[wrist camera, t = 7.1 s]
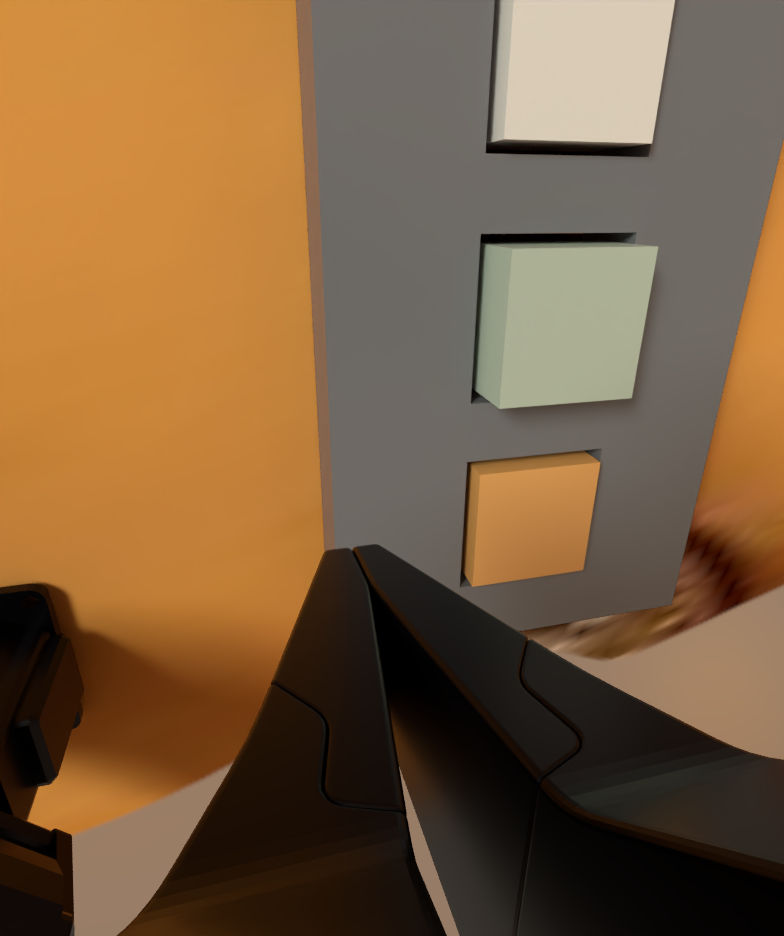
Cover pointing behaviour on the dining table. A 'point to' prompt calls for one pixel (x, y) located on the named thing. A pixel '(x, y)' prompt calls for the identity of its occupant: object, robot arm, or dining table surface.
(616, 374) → the sage button
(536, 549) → the orange button
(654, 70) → the off white button
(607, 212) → the panel
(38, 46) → the dining table surface
